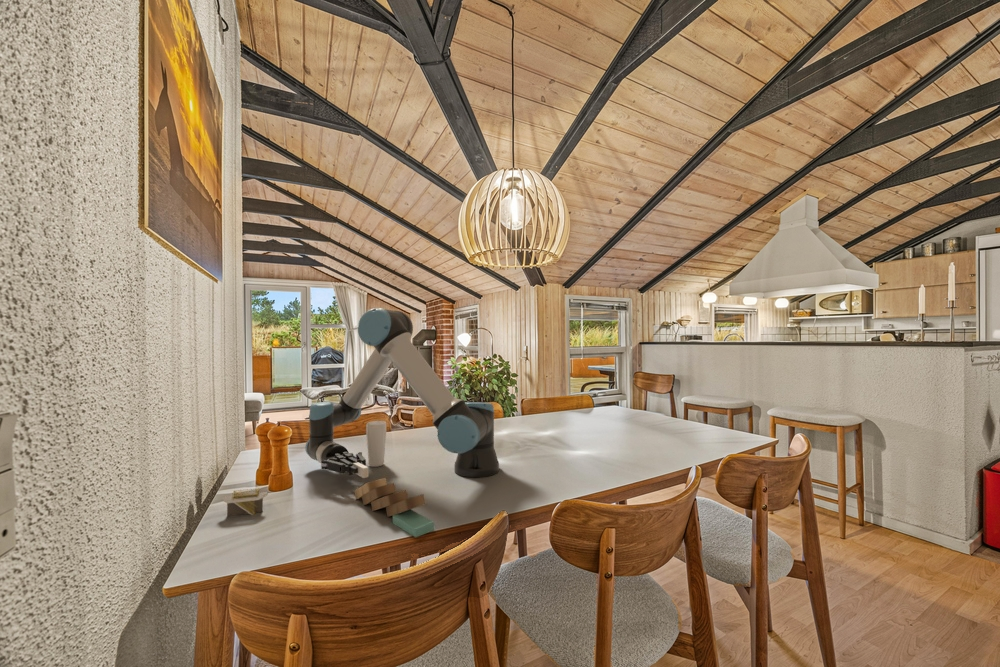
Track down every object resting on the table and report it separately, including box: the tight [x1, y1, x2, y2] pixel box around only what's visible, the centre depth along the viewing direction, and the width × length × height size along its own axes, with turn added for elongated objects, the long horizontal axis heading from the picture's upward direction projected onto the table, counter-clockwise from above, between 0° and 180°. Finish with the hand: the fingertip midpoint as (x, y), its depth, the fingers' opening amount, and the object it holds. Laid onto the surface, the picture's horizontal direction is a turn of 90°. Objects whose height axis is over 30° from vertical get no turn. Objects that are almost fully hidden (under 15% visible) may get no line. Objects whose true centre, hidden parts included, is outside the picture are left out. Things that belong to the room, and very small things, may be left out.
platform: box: [222, 487, 269, 516], centre depth 103 cm, size 12×18×7 cm, turn 108°
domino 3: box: [370, 489, 409, 512], centre depth 104 cm, size 5×2×10 cm
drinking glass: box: [365, 420, 387, 468], centre depth 143 cm, size 7×7×15 cm
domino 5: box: [392, 509, 435, 538], centre depth 97 cm, size 5×2×10 cm
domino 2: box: [361, 482, 397, 506], centre depth 108 cm, size 5×2×10 cm
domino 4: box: [385, 493, 427, 518], centre depth 101 cm, size 5×2×10 cm
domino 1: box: [354, 477, 388, 500], centre depth 112 cm, size 5×2×10 cm
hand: (365, 472), depth 114 cm, fingers closed
